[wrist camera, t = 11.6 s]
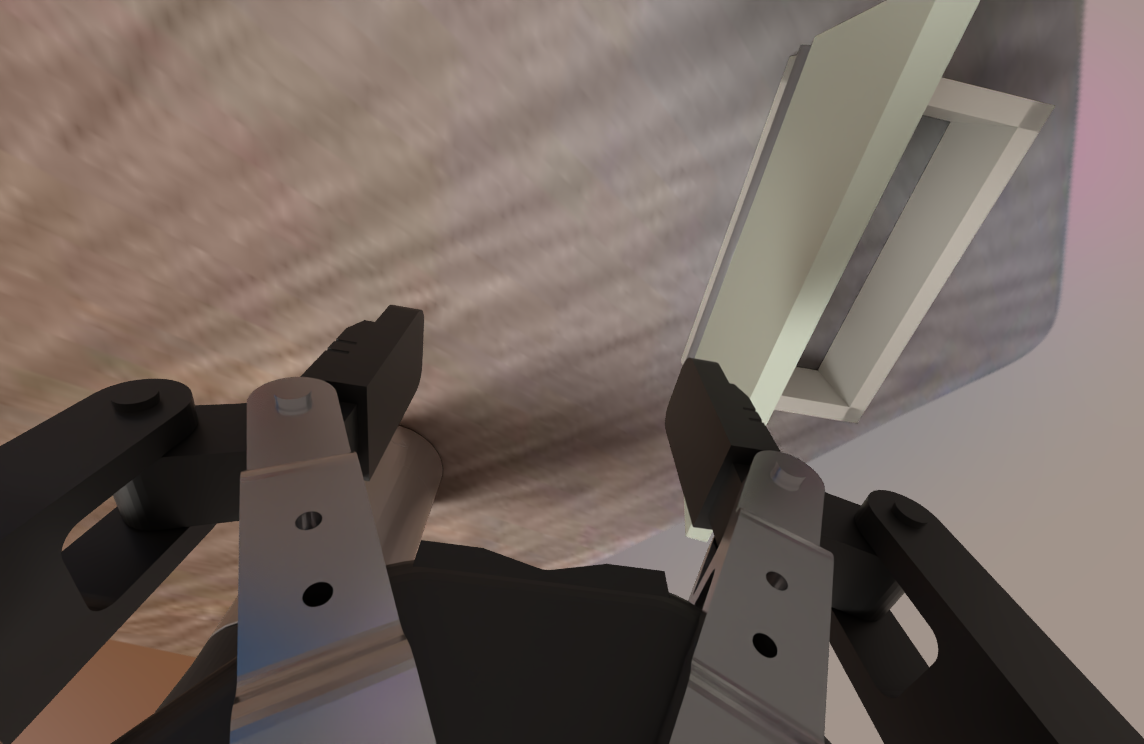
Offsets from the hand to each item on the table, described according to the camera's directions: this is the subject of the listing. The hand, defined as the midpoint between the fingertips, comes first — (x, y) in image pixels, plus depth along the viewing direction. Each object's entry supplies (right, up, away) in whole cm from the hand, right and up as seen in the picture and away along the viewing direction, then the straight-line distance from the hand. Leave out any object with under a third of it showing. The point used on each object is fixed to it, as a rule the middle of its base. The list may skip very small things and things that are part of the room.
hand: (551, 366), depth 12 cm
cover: (+10, +4, +10) cm, 14 cm away
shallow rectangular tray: (+17, +8, +20) cm, 28 cm away
